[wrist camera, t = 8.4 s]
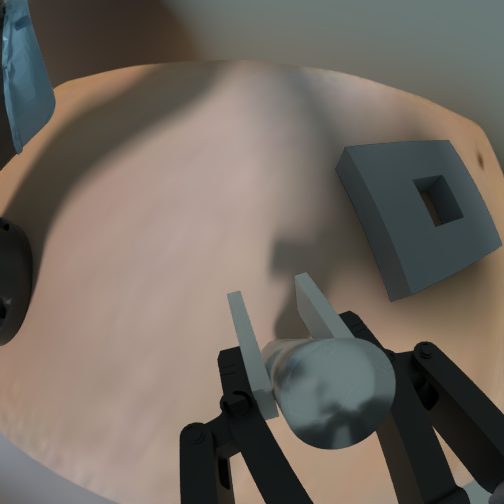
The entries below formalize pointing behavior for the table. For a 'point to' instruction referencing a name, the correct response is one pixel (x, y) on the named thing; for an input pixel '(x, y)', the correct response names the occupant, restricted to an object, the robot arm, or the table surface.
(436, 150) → the hole block
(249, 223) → the table surface
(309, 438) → the peg
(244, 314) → the robot arm
